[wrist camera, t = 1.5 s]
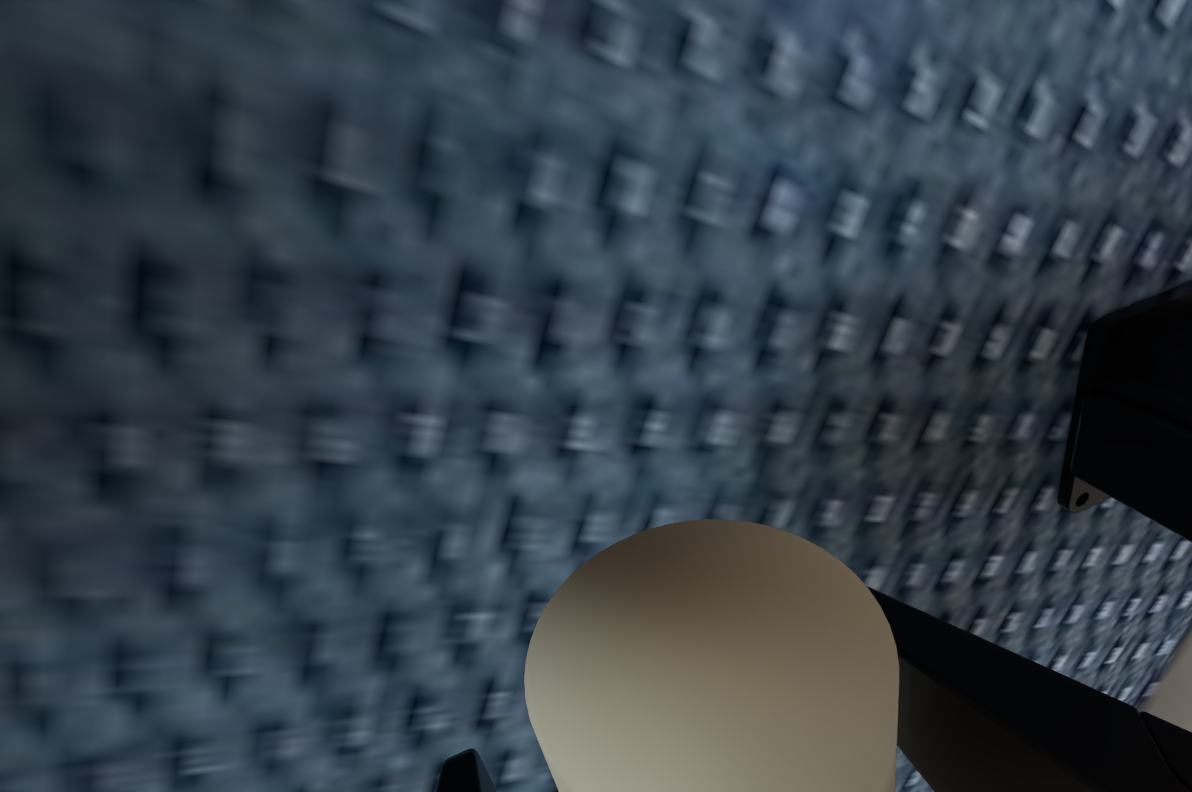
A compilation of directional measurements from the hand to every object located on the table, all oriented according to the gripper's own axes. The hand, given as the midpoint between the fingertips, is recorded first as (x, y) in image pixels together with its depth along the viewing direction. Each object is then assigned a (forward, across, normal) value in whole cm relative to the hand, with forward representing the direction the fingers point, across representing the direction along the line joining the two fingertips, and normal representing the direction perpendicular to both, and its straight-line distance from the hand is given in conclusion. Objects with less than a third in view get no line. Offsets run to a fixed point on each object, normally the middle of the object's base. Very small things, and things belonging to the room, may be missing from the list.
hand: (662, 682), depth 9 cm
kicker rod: (+5, 0, +5) cm, 7 cm away
